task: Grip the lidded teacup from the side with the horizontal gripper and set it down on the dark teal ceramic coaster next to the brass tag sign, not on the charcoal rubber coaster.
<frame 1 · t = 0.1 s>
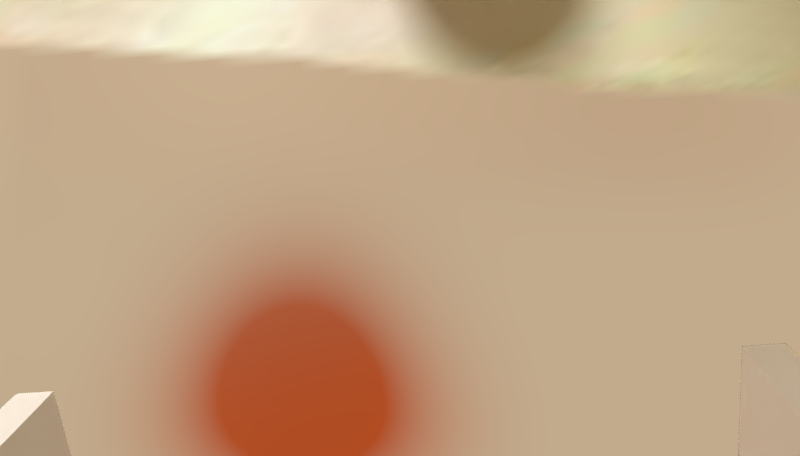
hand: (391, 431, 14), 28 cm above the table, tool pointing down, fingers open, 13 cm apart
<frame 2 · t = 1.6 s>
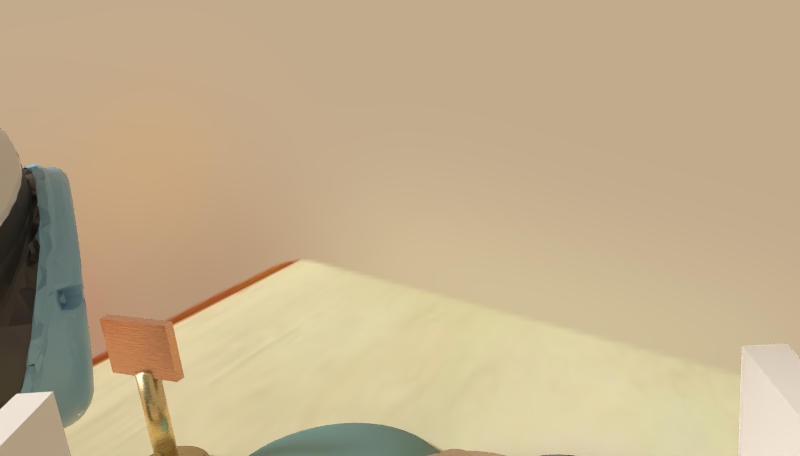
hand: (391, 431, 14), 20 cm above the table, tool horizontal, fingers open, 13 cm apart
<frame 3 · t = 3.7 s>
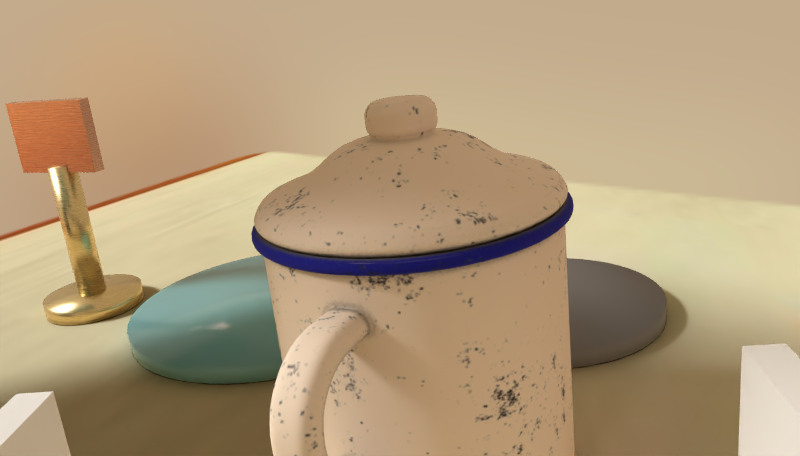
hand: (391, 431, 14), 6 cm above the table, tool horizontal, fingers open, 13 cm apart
teal coaster: (277, 312, 37), on the table
charcoal coaster: (547, 314, 34), on the table
brass tag sign: (96, 305, 41), on the table
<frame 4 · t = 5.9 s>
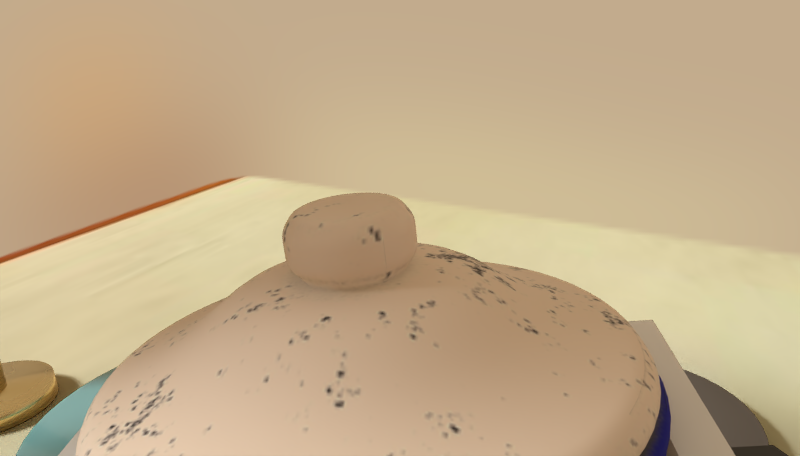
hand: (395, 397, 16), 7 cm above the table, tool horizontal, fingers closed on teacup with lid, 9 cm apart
teal coaster: (225, 429, 28), on the table
charcoal coaster: (594, 450, 24), on the table
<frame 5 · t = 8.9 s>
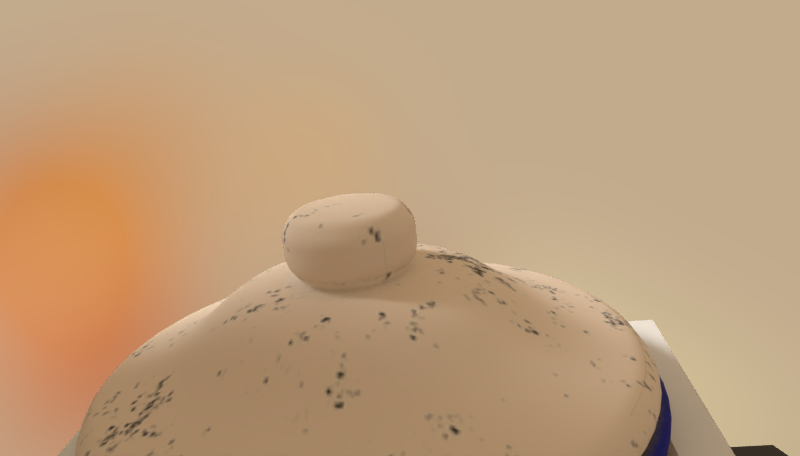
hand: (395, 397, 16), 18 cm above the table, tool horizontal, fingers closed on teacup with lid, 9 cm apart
when the fingers open (9 cm above the table, at t = 11.9 s): teacup with lid drops 1 cm, resting on teal coaster.
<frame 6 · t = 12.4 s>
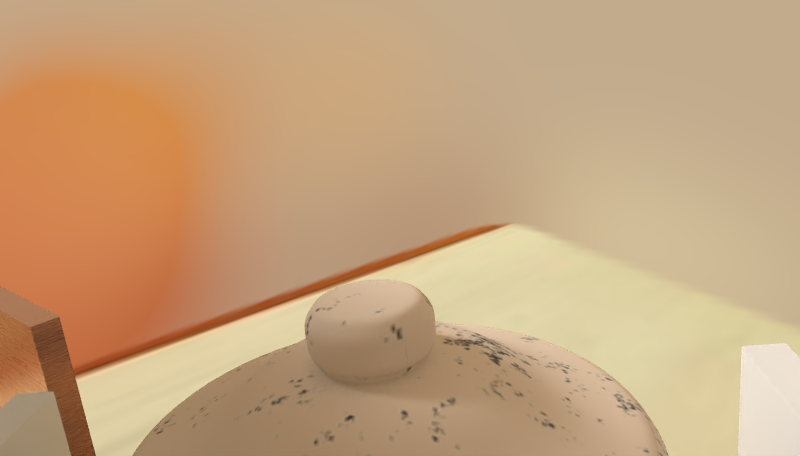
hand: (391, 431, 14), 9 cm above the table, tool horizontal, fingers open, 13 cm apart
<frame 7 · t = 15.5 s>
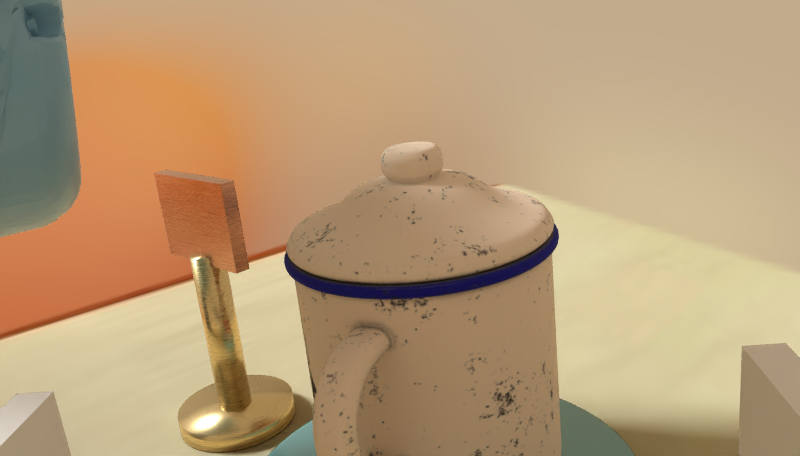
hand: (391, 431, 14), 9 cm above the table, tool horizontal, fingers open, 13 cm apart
brass tag sign: (238, 418, 33), on the table
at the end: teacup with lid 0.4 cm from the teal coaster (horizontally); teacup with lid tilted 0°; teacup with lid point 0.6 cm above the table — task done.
